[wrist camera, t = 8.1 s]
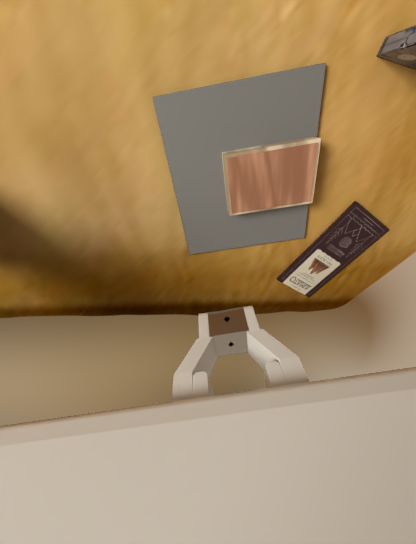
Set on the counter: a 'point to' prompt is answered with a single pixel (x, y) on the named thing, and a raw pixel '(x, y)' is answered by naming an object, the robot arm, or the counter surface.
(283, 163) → the wooden block
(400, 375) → the robot arm
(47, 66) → the counter surface
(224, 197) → the mat
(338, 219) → the chocolate bar
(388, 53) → the mini dv tape
